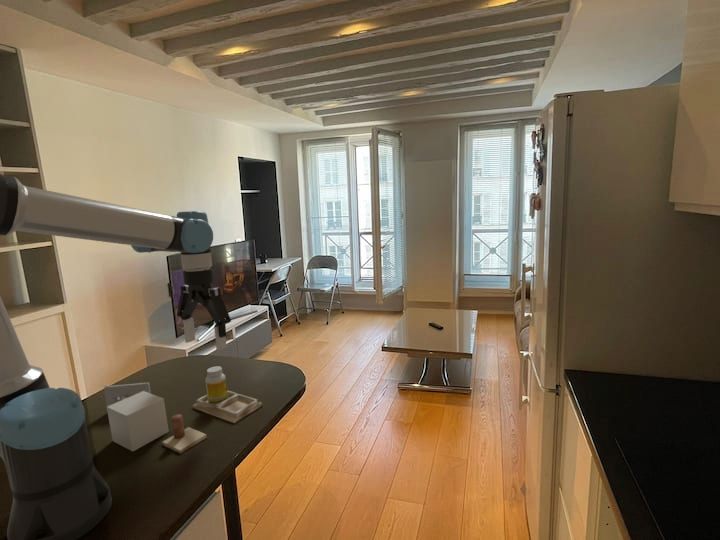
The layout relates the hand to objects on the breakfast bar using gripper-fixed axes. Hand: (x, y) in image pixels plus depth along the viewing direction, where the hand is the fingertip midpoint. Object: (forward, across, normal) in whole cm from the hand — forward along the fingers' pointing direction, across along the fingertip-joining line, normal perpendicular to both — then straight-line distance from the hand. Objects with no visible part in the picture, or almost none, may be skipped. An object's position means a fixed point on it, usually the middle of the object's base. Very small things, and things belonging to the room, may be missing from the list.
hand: (205, 344), depth 110 cm
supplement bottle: (+17, -2, -1) cm, 17 cm away
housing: (+18, +2, +19) cm, 26 cm away
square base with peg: (+18, -10, +15) cm, 25 cm away
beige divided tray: (+17, -6, -1) cm, 18 cm away
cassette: (+18, +18, +13) cm, 29 cm away
